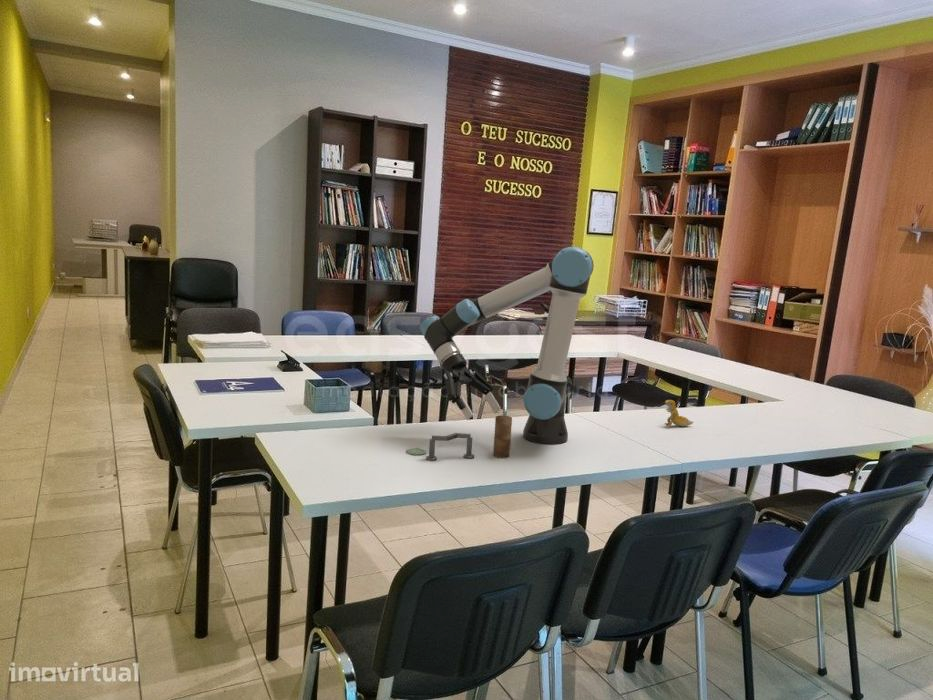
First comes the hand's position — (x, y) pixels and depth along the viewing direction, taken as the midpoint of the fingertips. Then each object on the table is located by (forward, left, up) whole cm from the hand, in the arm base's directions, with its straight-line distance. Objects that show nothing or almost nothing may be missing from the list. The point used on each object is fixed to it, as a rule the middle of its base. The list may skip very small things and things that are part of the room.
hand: (484, 414), depth 207 cm
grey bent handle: (+10, +9, -12) cm, 18 cm away
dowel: (-6, +4, -12) cm, 14 cm away
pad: (+20, +5, -12) cm, 24 cm away
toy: (-75, -47, -12) cm, 89 cm away
